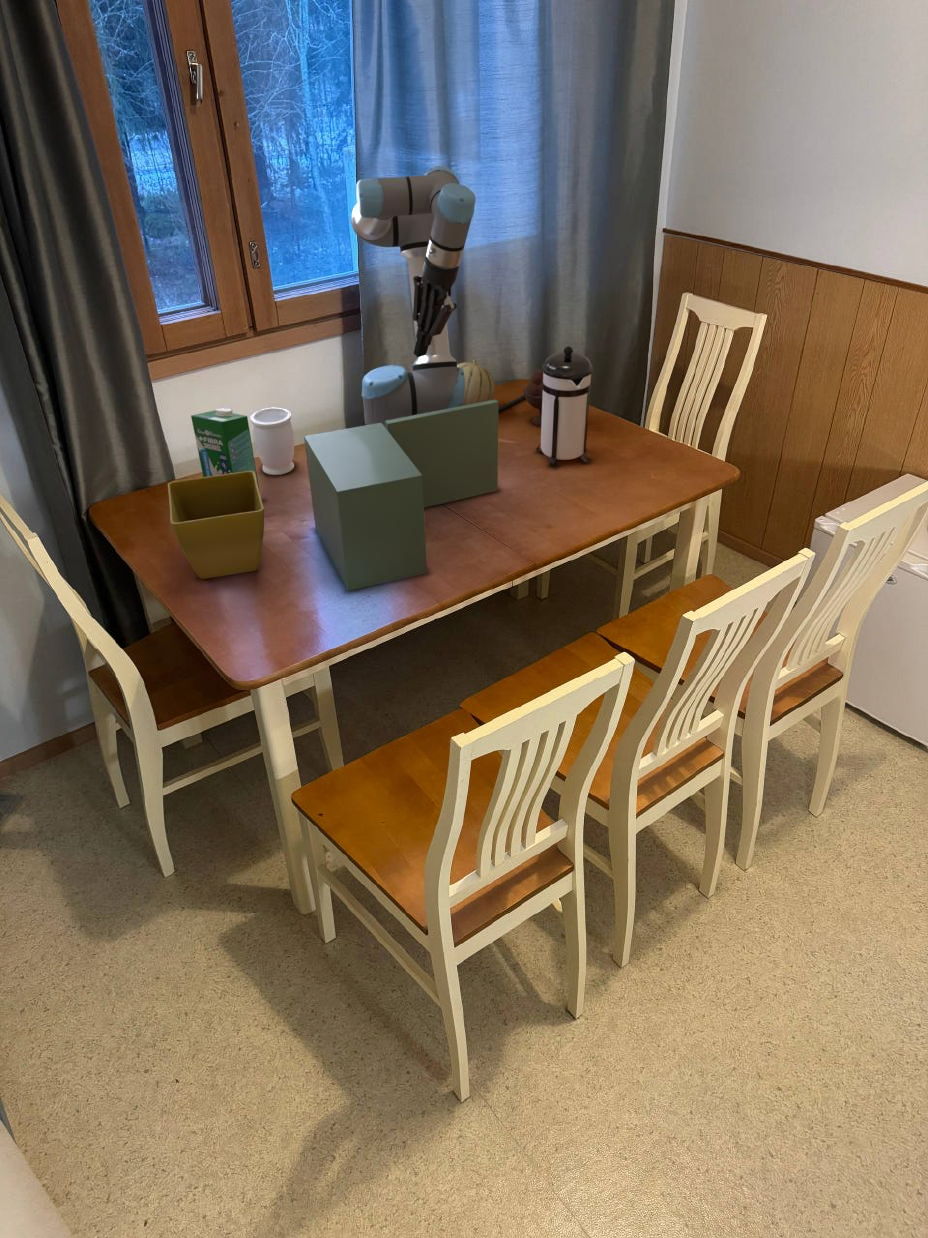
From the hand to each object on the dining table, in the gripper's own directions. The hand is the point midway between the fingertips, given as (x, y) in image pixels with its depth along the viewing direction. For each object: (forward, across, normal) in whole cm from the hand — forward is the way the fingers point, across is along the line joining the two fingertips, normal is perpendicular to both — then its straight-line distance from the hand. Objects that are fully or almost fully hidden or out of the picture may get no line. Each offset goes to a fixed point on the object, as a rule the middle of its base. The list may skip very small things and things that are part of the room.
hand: (419, 353), depth 215 cm
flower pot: (+36, +9, -54) cm, 65 cm away
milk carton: (+43, -11, -39) cm, 59 cm away
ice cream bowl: (+33, +4, +51) cm, 61 cm away
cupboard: (+29, +26, -27) cm, 48 cm away
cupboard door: (+30, +18, +1) cm, 35 cm away
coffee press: (+28, +21, +40) cm, 53 cm away
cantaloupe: (+40, -14, +41) cm, 59 cm away
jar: (+45, -21, -20) cm, 54 cm away
